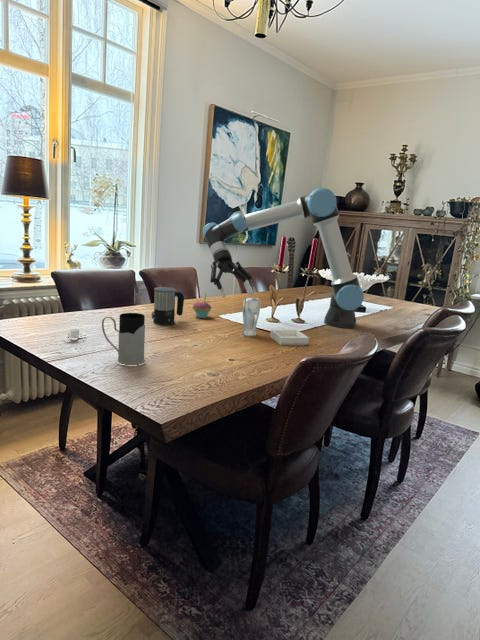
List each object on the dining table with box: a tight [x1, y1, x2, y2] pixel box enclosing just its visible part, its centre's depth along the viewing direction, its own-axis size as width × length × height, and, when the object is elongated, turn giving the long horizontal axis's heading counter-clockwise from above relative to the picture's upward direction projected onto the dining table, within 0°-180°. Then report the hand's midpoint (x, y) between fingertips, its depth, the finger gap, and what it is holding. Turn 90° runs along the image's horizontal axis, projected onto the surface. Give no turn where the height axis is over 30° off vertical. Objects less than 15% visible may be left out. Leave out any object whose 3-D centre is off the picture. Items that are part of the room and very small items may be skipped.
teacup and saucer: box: [67, 328, 87, 339], centre depth 153 cm, size 9×8×4 cm
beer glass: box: [241, 296, 261, 338], centre depth 177 cm, size 7×7×15 cm
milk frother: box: [151, 286, 185, 326], centre depth 188 cm, size 14×16×15 cm
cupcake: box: [192, 292, 212, 319], centre depth 201 cm, size 9×8×12 cm
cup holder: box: [269, 329, 310, 346], centre depth 174 cm, size 12×12×3 cm
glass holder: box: [101, 312, 146, 365], centre depth 135 cm, size 9×14×15 cm, turn 80°
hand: (238, 294), depth 182 cm, fingers open, 13 cm apart
